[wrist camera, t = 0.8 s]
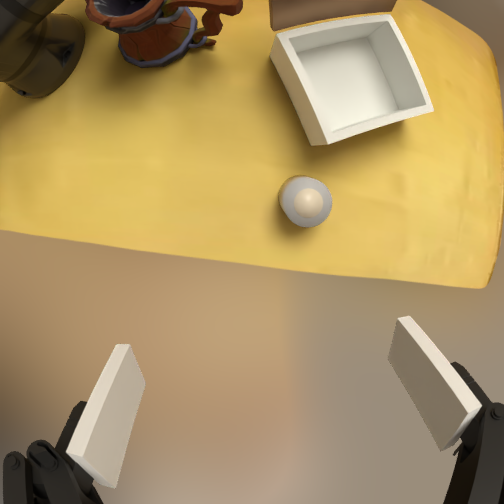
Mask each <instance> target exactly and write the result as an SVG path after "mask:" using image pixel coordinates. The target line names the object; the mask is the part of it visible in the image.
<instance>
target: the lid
mask: <svg viewBox="0 0 504 504" xmlns="http://www.w3.org/2000/svg"><path fill="white" fill-rule="evenodd" d="M396 1H397V0H269V10H270V25H271V28H272V30H273V31H277V30H281V29H285V28H288V27H292V26H296V25H301V24H305V23H310V22H314V21H319V20H325V19H330V18H336V17H343V16H349V15H357V14H366V13H377V12H391V11H392V9H393V7H394V5H395V3H396Z"/></svg>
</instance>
